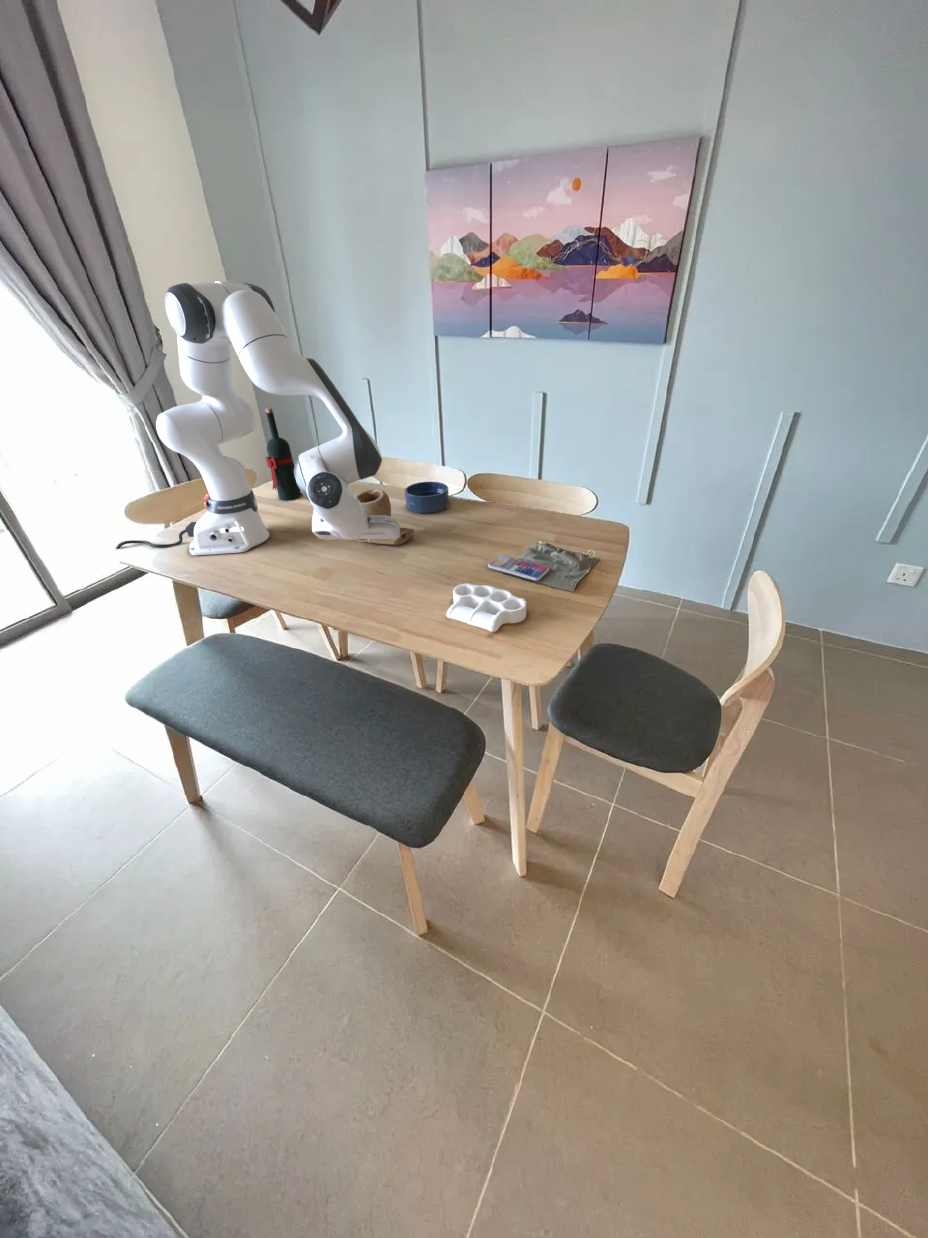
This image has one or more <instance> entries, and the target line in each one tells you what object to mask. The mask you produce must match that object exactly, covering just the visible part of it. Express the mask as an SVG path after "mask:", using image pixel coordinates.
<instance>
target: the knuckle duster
mask: <svg viewBox="0 0 928 1238" xmlns="http://www.w3.org/2000/svg"><path fill="white" fill-rule="evenodd" d="M452 597H453V604H451V605H450V606H449V608H448V609H447V611H446V613H445V616H446V618H447V619H452V620H455V621H458V622H461V623H464V624H467V625H469V626H473V627H476V628H480V629H483V630H486V631H488V632H491V633H495V632H497V631H498V630H499V629H500V627H501V626H503V625H505V624H517V623H520V622H522V621H525V619H526V617H527V601H526V600H525V598H523V597H519V596H516V595H513V593H511V592H510V591H509V590H506V589H505V588H503V589H501V588H496V587H494V586H492V585H487V584H481V585H475V584H471V583H469V582H466V583H460V584H457V585H456V586H455V587H454V588H453V590H452Z"/></svg>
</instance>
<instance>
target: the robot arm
mask: <svg viewBox="0 0 928 1238" xmlns="http://www.w3.org/2000/svg"><path fill="white" fill-rule="evenodd" d="M165 293H166V294H165V296H164V307H165V312H166V316H167V319H168V322H169V324H170V326H171V328H172V329H173V331H174V332H175V333H176V339H177V340H176V341H177V342H176V343H177V352H178V354H177V355H178V363H179V364H178V365H179V374H180V378H181V379H182V381H183V383H184V384H185V386H186V387H187V388H189V390H191V391H193V392H194V393H196V394H198V395H201V396H202V397H201V400H199V401H195V402H190V403H185V404H180V405H175V406H173V407H171V408H169V409H167V410H165V411H163V412H161V413H159V414H158V415H157V417H156V421H155V429H156V433H157V436H158V438H159V440H160V441H161V442H162V443H163V444H164V445H165V446H166V447H167V448H168V449H169V450H171V451H172V452H174V453H178V454H180V455H182V456H184V457H186V458H187V459H188V460H189V461H190V462H191V463H192V464H193V465H194V466H195V467H196V468H197V470H198V471H199V473H200V475H201V478H202V479H203V482H204V484H205V486H206V487H205V488H206V490H207V492H208V493H206V494H205V496H204V498H203V499H204V501H203V503H204V504H203V505H204V509H206V511H205V512H204V513H203V515H202V516H201V517H199V519H198V520H196V521H190V523H189V524H188V525H187V526H185V529H183V530H181V531H180V532H179V534H178V541H176V542H174V543H167V544H165V543H159V544H158V543H152V542H150V541H148V540H132V539H131V540H124V541H121V542H119V543H118V544H117V545H116V546H115V550H118V549H121V547H122V546H124V545H128V544H146V545H147V546H149V547H153V548H170V547H174V546H179V545H181V544H182V543H183V535H184V534H186V533H187V536H188V537H189V538H193V539H192V540H191V541H190V543H189V545H188V551H189V554H191V555H192V556H209V555H210V556H211V555H222V554H223V555H224V554H238V553H245V552H247V551H249V550H250V549H251V548H253V547H256V546H258V545H260V544H262V543H264V542H266V541H267V540H268V539H269V538H270V532H269V530H268V528H266V525H265V524H264V521H263V519H262V518H261V515H260V512H259V506H258V501H257V499H256V495H255V493H254V491H253V489H252V488H251V486H250V482H249V478H248V475H247V472H246V468H245V466H244V465H243V464H242V462H240V461H239V460H238V459H236V458H234V457H231V456H226V455H224V454H223V453H222V452H221V449H220V447H219V445H222V444H226V443H229V442H233V441H236V440H240V439H241V438H243V437H245V436H247V435H249V434H250V433H252V432H254V430H255V428H256V415H255V412H254V409H253V408H252V406H251V404H250V403H249V402H248V401H247V400H245V399H244V398H242V397H241V396H240V395H238V394H237V392H236V390H235V389H234V385H233V381H232V380H233V379H232V368H231V367H232V366H231V363H232V362H231V344H232V347H233V349H234V352H235V354H236V356H237V358H238V360H239V362H240V364H241V366H242V368H243V370H244V371H245V373H246V375H247V376H248V378H249V380H250V381H251V382H252V383H253V385H254V386H256V387H257V388H259V389H260V390H262V391H264V392H266V393H269V394H271V395H275V396H285V397H287V396H308V397H309V396H311V397H315V398H317V399H319V400H321V401H322V403H324V405H325V406H326V408H327V409H328V411H329V412H330V414H331V415H332V417H333V418H334V419H335V421H336V423H337V424H338V425H339V427H340V429H341V430H342V433H341V434H340V435H339V436H337V437H335V438H333V439H330V440H329V441H327V442H324V443H321V444H320V445H316V446H314V447H312V448H310V449H307V450H306V451H303V452H302V453H299V454H298V455H297V456H296V458H295V462H294V476H295V479H296V482H297V484H298V486H299V488H300V491H301V495H303V497H304V498H305V500H307V501H308V502H309V503H310V504H311V506H312V508H313V510H312V519H311V532H312V534H314V535H315V536H316V537H317V538H318V539H320V540H321V539H322V540H350V541H352V540H354V541H358V542H359V543H370V542H371V539H398V538H399V536H400V527H401V525H400V523H399V522H398V521H397V519H395V518H394V517H392V515H391V516H386V515H369V514H368V512H367V510H366V509H365V508H364V506H363V505H362V503H361V502H360V501H359V500H358V499H357V496H356V495H357V494H356V493H355V492H354V490H353V489H352V488H351V487H350V486H349V485H351V484H353V483H356V482H358V481H360V480H361V481H362V480H364V479H365V480H366V479H368V478H371V477H373V476H376V475H377V473H378V471H379V469H380V468H381V464H382V461H383V458H382V452H381V449H380V447H379V445H378V444H377V442H376V441H375V439H374V438H373V437H372V436H371V435H370V433H369V432H368V431H367V430H366V429H365V428H364V427H363V425H361V423H360V421H359V420H358V419H357V416H356V415H355V414H354V412H353V411H352V409H351V407H350V406H349V404H348V403H347V401H346V400H345V399H344V397H343V396H342V394H341V393H340V391H339V389H338V388H337V386H336V385H335V384H334V382H333V381H332V380H331V378H329V377H330V376H328V375H327V373H326V371H325V370H324V369H323V367H322V366H321V365H320V364H319V363H318V362H317V361H316V360H315V359H314V358H309V357H305V356H304V355H302V354H301V353H300V352H298V350H297V349H295V347H294V345H293V344H292V342H291V340H290V338H289V336H288V334H287V331H286V330H285V328H284V326H283V324H282V323H281V321H280V319H279V318H278V316H277V314H276V310H275V307H274V304H273V301H272V299H271V298H270V296H269V294H268V293H267V291H266V290H265V289H264V288H263V287H261V286H258V285H257V284H253V283H248V282H243V283H238V282H231V281H217V280H216V281H211V282H209V281H208V282H197V283H188V282H182V283H178V284H175V285H172V286H170V287H168V289H167V290H166V292H165Z"/></svg>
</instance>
